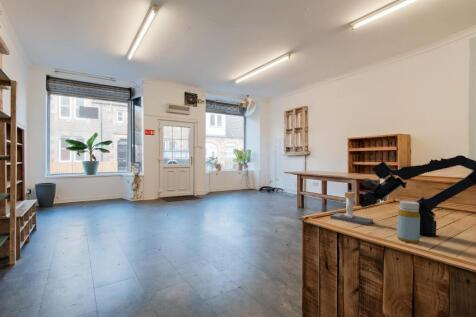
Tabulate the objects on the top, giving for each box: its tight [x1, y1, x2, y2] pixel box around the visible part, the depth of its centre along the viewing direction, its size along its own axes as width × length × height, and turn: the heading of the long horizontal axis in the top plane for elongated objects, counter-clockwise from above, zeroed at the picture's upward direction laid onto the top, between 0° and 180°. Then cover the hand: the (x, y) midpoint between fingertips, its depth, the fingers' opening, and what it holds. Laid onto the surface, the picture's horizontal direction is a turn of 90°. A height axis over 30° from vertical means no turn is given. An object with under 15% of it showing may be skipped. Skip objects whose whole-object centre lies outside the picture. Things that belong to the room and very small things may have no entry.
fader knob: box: [343, 191, 356, 218], centre depth 123 cm, size 4×5×12 cm
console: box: [329, 212, 374, 226], centre depth 122 cm, size 18×9×2 cm, turn 47°
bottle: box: [396, 200, 421, 244], centre depth 93 cm, size 7×7×15 cm
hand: (361, 206), depth 119 cm, fingers closed
